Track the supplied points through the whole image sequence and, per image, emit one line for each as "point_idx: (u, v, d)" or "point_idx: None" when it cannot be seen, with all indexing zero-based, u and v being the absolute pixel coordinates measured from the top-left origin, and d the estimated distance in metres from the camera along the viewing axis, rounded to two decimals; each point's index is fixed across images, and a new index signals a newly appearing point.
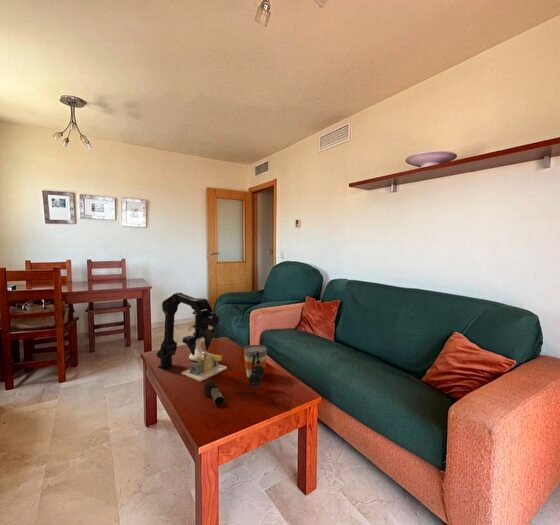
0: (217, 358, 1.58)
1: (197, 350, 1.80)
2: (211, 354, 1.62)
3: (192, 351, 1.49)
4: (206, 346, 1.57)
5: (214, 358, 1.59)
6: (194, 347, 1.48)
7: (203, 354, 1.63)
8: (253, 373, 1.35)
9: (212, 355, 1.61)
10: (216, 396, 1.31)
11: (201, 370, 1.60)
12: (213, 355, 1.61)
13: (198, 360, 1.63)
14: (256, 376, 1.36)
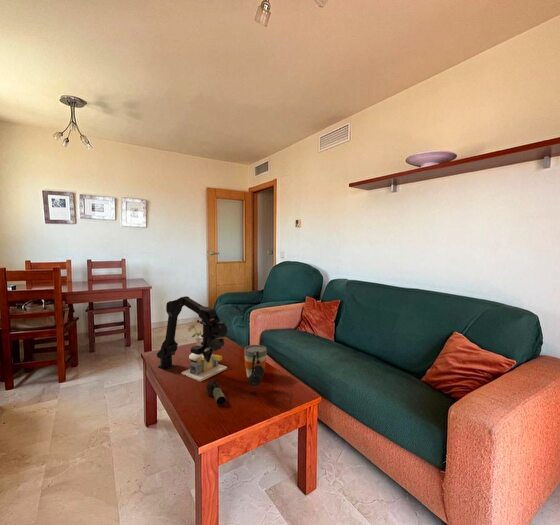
0: (217, 358, 1.58)
1: None
2: None
3: (206, 358, 1.53)
4: None
5: (214, 358, 1.59)
6: (208, 354, 1.53)
7: None
8: (253, 373, 1.35)
9: (212, 355, 1.61)
10: (218, 396, 1.31)
11: (201, 370, 1.60)
12: (213, 355, 1.61)
13: (198, 360, 1.63)
14: (256, 376, 1.36)
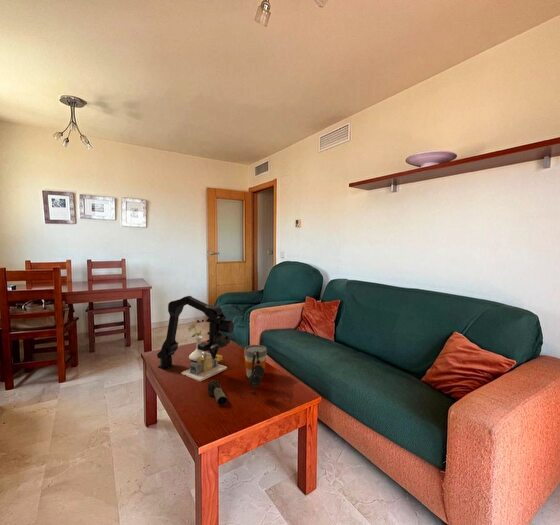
0: (218, 358, 1.58)
1: (197, 350, 1.80)
2: None
3: (213, 355, 1.57)
4: None
5: (215, 358, 1.59)
6: (215, 351, 1.57)
7: (203, 354, 1.63)
8: (253, 373, 1.35)
9: None
10: (219, 396, 1.31)
11: (201, 370, 1.60)
12: None
13: (198, 360, 1.63)
14: (256, 376, 1.36)
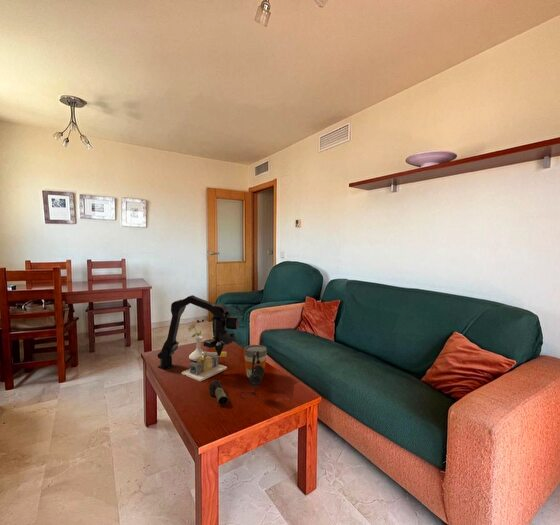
0: (224, 354, 1.64)
1: (197, 350, 1.80)
2: (214, 352, 1.65)
3: (218, 352, 1.62)
4: None
5: (220, 355, 1.64)
6: (220, 348, 1.61)
7: (205, 354, 1.63)
8: (253, 373, 1.35)
9: (216, 353, 1.64)
10: (220, 396, 1.31)
11: (201, 370, 1.60)
12: None
13: (198, 360, 1.63)
14: (256, 376, 1.36)
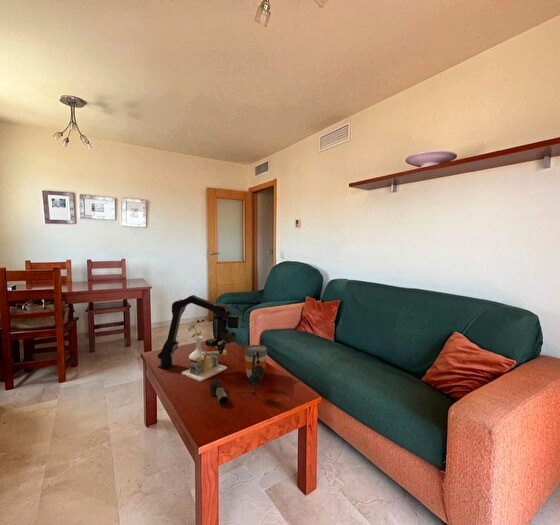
0: (225, 352, 1.66)
1: (197, 350, 1.80)
2: (214, 351, 1.66)
3: (220, 351, 1.64)
4: None
5: None
6: (222, 347, 1.63)
7: (205, 354, 1.64)
8: (253, 373, 1.35)
9: (216, 352, 1.66)
10: (220, 396, 1.31)
11: (201, 370, 1.60)
12: (217, 351, 1.66)
13: (198, 360, 1.63)
14: (256, 376, 1.36)
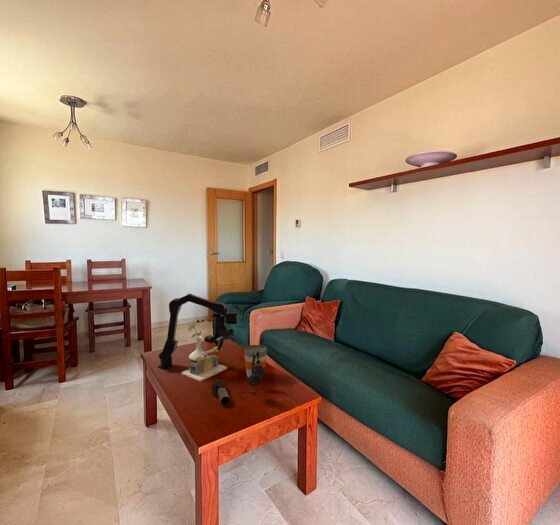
0: None
1: (197, 350, 1.80)
2: (211, 349, 1.69)
3: (218, 347, 1.70)
4: None
5: (217, 350, 1.72)
6: (220, 343, 1.70)
7: (206, 353, 1.64)
8: (253, 373, 1.35)
9: (214, 349, 1.70)
10: (222, 396, 1.31)
11: (201, 370, 1.60)
12: (214, 349, 1.71)
13: (198, 360, 1.63)
14: (256, 376, 1.36)
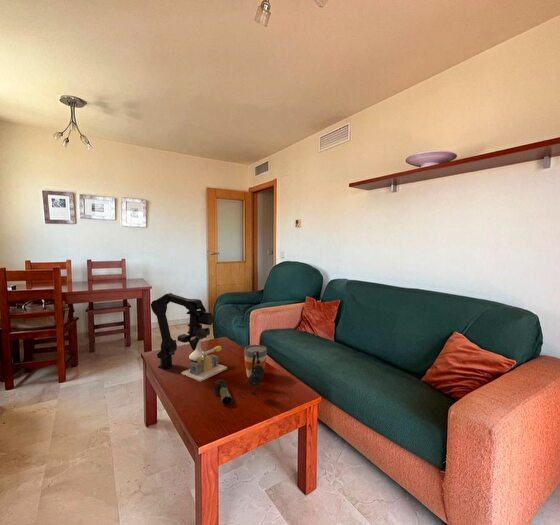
0: (220, 348, 1.74)
1: (197, 350, 1.80)
2: (211, 349, 1.69)
3: (192, 346, 1.61)
4: None
5: (217, 350, 1.72)
6: (194, 343, 1.61)
7: (206, 353, 1.64)
8: (253, 373, 1.35)
9: (214, 349, 1.70)
10: (224, 396, 1.31)
11: (201, 370, 1.60)
12: (214, 349, 1.71)
13: (198, 360, 1.63)
14: (256, 376, 1.36)
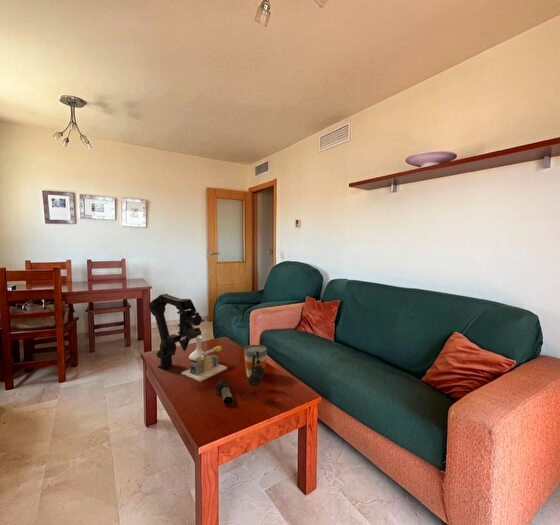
0: (220, 348, 1.74)
1: (197, 350, 1.80)
2: (211, 349, 1.69)
3: (183, 347, 1.59)
4: None
5: (217, 350, 1.72)
6: (185, 343, 1.59)
7: (206, 353, 1.64)
8: (253, 373, 1.35)
9: (214, 349, 1.70)
10: (225, 396, 1.31)
11: (201, 370, 1.60)
12: (214, 349, 1.71)
13: (198, 360, 1.63)
14: (256, 376, 1.36)
